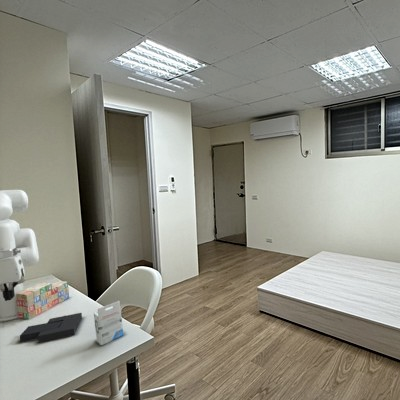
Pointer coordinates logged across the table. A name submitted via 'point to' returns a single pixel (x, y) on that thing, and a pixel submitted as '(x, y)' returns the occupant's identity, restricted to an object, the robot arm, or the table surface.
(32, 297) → the stack of blocks
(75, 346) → the table surface
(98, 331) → the ink box
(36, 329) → the pad
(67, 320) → the socket pad
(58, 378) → the table surface
